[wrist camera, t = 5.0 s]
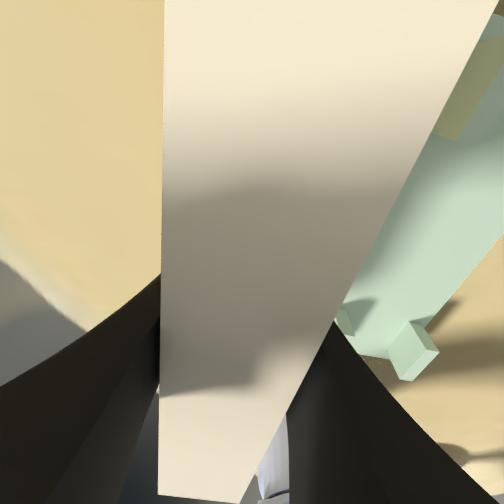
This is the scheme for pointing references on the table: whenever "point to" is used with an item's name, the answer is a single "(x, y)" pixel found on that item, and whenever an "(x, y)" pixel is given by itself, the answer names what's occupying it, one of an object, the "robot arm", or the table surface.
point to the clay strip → (279, 199)
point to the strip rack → (436, 220)
